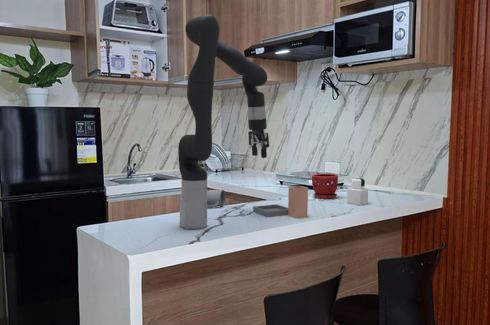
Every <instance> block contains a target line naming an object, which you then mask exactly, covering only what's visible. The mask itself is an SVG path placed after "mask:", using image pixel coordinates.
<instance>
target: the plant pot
mask: <svg viewBox="0 0 490 325" xmlns="http://www.w3.org/2000/svg"><path fill="white" fill-rule="evenodd" d="M311 183H312V189H313V192H314V193H313V197H315V198H316V199H319V200H322V199H323V200H330V199H331V200H332V199H335V198H336V197H337V195H338V194H337V193H336V192H337V189H338V184H339V175H338V174H335V173H317V174H316V173H315V174H312V175H311Z"/></svg>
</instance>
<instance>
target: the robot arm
mask: <svg viewBox="0 0 490 325" xmlns="http://www.w3.org/2000/svg"><path fill="white" fill-rule="evenodd" d="M184 28H185V34H186V37H187V38H188V39H189V41H190V42H192V43H193V44H194V45H196V46H198V53H197V56H196V59H195V62H194V63H193V66H192V68H191V70H190V72H189V74H188V78H187V88H186V89H187V90H186V99H187V102H188V105H189V107H190V109H191V111H192V113H193V117H194V121H195V122H194V123H195V131H194V132H195V134H185V135H183V136H182V137H181V138H180V140H179V142H178V147H177V148H178V149H177V150H178V151H177V152H178V169H179V173H180V176H181V178H180V179H181V199H179V226H180V227H181V228H183V229H184V230H185V229H186V230H187V229H188V230H189V229H190V230H191V229H192V230H194V229H195V230H197V229H204V228H206V227H208V208H207V191H208V173H207V171H206V170H204V169H203V168H202V167H201V166H200V164H199V162H205V161H207V160H209V158H210V157H211V154H212V151H213V150H212V149H213V132H212V130H213V128H212V127H213V126H212V125H213V124H212V119H213V118H212V117H213V114H212V113H213V112H212V111H213V98H214V83H215V82H214V80H215V79H214V78H215V69H216V68H215V67H216V58H217V59H219V60H220V61H221V62H222V63H224V64H225V65H226V66H228V67H229V68H230V69H231V70H232V71H233V72H234V73H236V74H237V75H239V76H241V81H242V82H241V83H242V86H243V88H244V92H245V95H246V98H247V99H246V100H247V123H248V129H249V131H248V146H250V147H251V155H252V156H253V157H256V156H258V146H259V147H260V156H261V158H262V159H266V158H268V157H267V156H268V154H267V149H268V148H270V138H269V132H265V130H266V129H267V126H268V125H267V124H268V123H267V111H266V104H265V101H266V100H265V94H264V92H262V91H258V89H257V87H261V86H264V85H265V84H266V83H267V81H268V73H267V72H266V70H265V69H264V67H262V66H260V65H258V64H257V63H255V62H254V61H251V60H249V59H248V58H247V57H246V56H245V55H244V54H243V53H242V52H240V51H239V50H238V49H236V48H235V47H233V46H230V45H229V44H227V43H224V42H223V41H221V40H219V39H220V38H219V37H220V25H219V21H218V19H217V17H216V16H214V15H212V14H203V15H199V16H195V17H193V18H191V19H189V20H187V21H186V24H185V27H184Z"/></svg>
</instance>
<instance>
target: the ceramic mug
mask: <svg viewBox="0 0 490 325" xmlns="http://www.w3.org/2000/svg"><path fill="white" fill-rule="evenodd" d="M225 203H226V192H225V190H224V189H209V190H208V189H207V209H215V208H216V207H219V208H220V207H224V206H225Z"/></svg>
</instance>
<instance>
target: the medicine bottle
mask: <svg viewBox="0 0 490 325" xmlns="http://www.w3.org/2000/svg"><path fill="white" fill-rule="evenodd" d="M365 182H366V181H365V179H364V178H352V179H351V184H350V185H351V188H347V196H346V198H347V199H346V200H347V201H346V203H347V204H349V205H355V206H364V205H367V204H368V203H369V189H368V188H365V187H366V186H365Z"/></svg>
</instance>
